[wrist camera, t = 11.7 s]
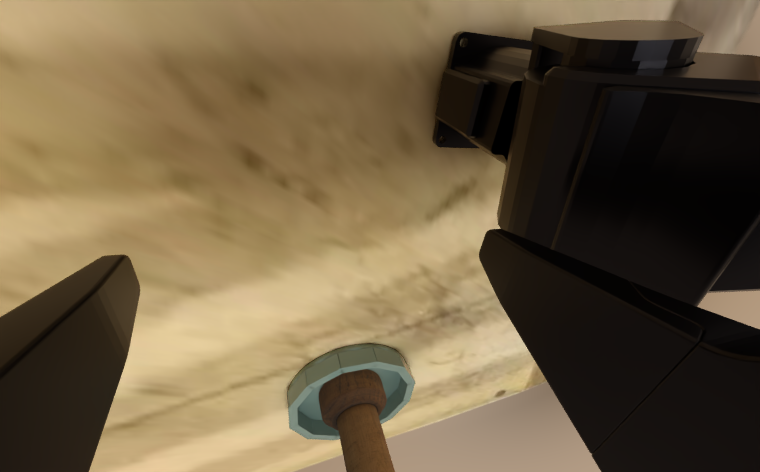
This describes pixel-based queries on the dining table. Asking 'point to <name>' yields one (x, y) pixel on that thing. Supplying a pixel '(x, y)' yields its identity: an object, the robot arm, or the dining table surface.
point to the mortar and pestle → (357, 419)
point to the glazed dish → (331, 365)
